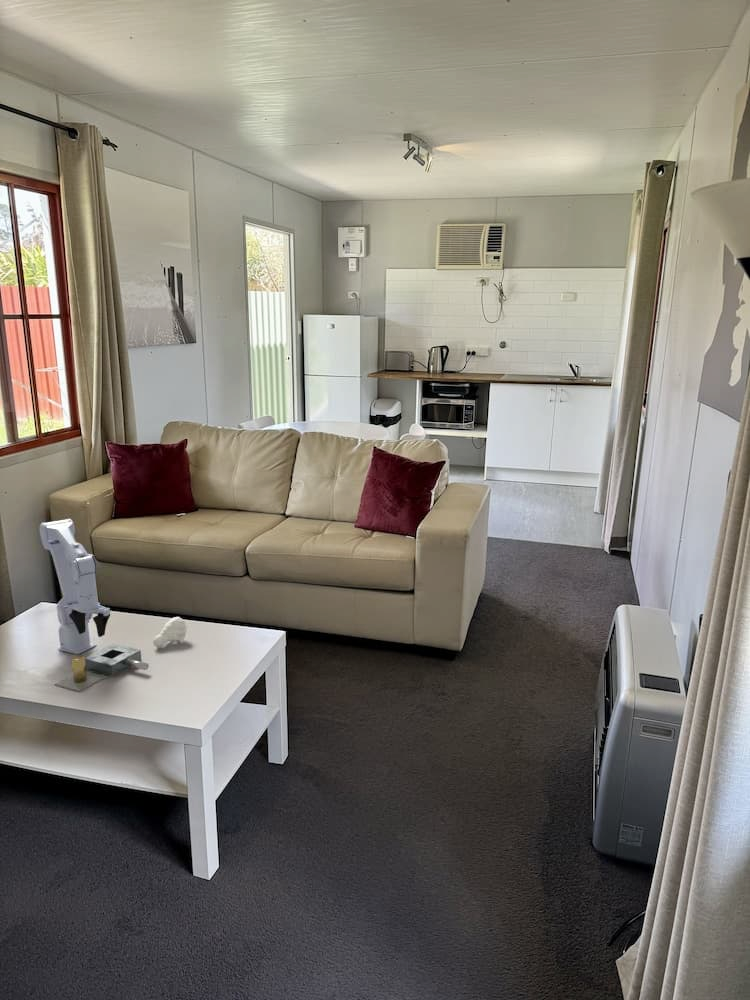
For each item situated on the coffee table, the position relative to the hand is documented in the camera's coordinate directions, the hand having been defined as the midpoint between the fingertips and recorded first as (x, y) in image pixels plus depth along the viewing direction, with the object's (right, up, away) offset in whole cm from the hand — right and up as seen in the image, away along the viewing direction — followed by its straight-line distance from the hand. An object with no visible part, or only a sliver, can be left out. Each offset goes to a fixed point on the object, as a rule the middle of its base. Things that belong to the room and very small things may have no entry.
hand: (91, 634), depth 221 cm
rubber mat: (+1, -12, -10) cm, 16 cm away
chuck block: (+10, -10, -2) cm, 15 cm away
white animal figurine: (+20, -7, +15) cm, 26 cm away
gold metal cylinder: (+1, -12, -10) cm, 16 cm away
